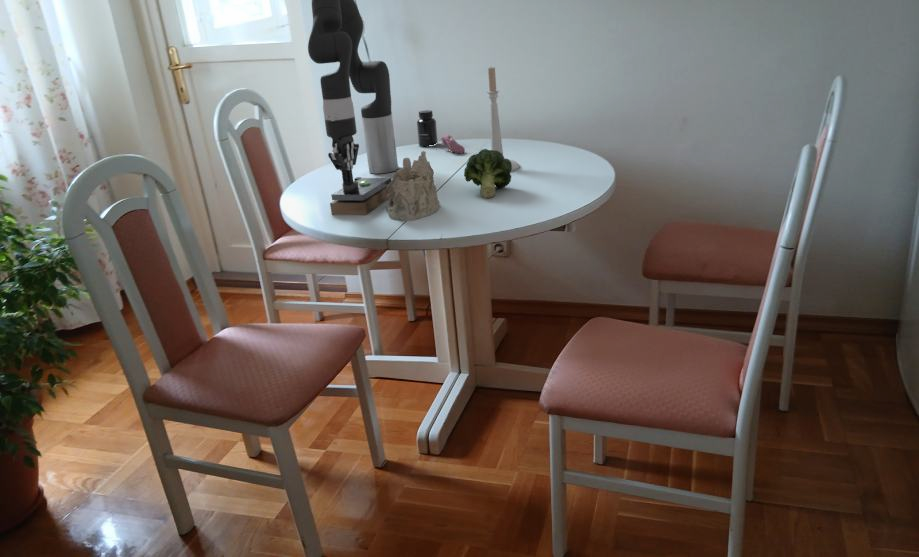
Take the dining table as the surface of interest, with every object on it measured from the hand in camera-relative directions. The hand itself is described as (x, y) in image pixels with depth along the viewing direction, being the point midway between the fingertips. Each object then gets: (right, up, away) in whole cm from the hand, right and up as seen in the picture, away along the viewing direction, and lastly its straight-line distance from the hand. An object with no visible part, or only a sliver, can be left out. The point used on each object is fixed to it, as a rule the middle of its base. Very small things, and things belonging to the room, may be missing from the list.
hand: (348, 184), depth 191 cm
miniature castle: (+16, -7, 0) cm, 17 cm away
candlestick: (+40, +9, +33) cm, 53 cm away
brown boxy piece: (+3, -4, +9) cm, 11 cm away
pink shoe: (+26, +18, +60) cm, 68 cm away
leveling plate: (+3, -1, +8) cm, 8 cm away
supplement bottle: (+18, +23, +73) cm, 78 cm away
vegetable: (+37, -1, +9) cm, 38 cm away
